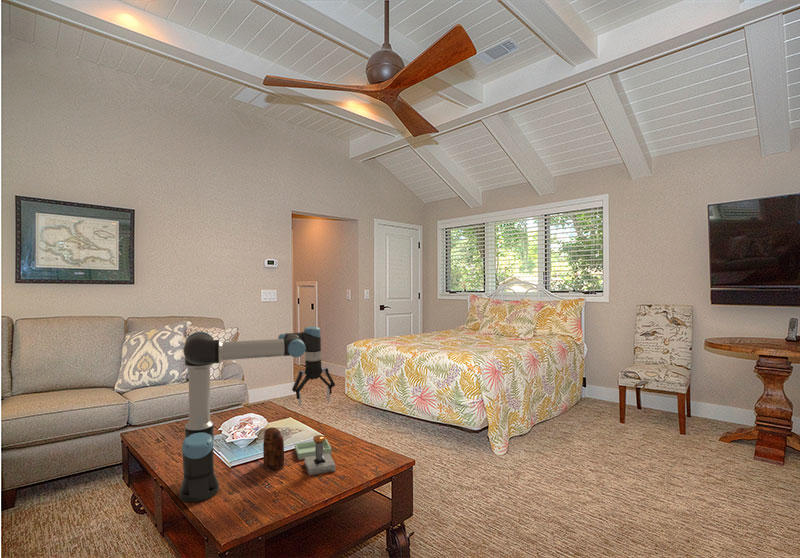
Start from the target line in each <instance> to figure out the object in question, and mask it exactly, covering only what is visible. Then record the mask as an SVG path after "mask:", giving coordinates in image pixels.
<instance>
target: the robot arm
mask: <svg viewBox="0 0 800 558" xmlns="http://www.w3.org/2000/svg"><path fill="white" fill-rule="evenodd" d="M277 337H278V338H273V339H255V340H253V339H252V340H236V341H221V340H220V339H214V338H213V337H212V335H210V333H208V332H205V331H195V332H193V333H191V334H190V335H189V336H188V337H187V338H186V340H185V342H184V347H183V355H184V366H186V367H187V368H188V422H187V423H186V424H185V425H184V439H183V441H182V445H181V451H182V467H183V468H182V470H183V473H182V474H183V478H182V481H181V483H180V484H181V485H180V488H179V493H178V494H179V499H180V500H181V501H183V502H187V503H198V502H202V501H206V500H208V499H210V498H213V497H214V496H216V495H217V494H218V492H219V491H220V483H219V481H218V477H217V475H216V474H215V473H216V472H215V461H214V445H215V443H214V439H215V433H214V421H213V420H211V366H212V365H213V364H220V363H221V362H222V361H233V360H248V359H259V358H274V357H276V358H277V357H292V358H301V357H302V356H303V355H304V358H305V361H304V363H305V364H304V366H305V370H301V369H300V370H298V373H297V374H298V375H297V378H296V379H295V381H294V383H293V386H292V389H291V390H292V391H293V392H294V393H295V397H296V399H297V400H298V406H299V407H302V392H301V390H303V387H304V386H305V385H306V384H307V382H309V381H310V380H318V379H320V380H321V381H322V382H323V383H324V384H325V385H326V387H325V388H326V401H327V402H328V403H330V402H331V400H330V399H331V397H330V395H332V393H333V392H332V391H333V390H332V388H334V387H335V386H336V383H335V382H334V379H333V378H332V376H331V374H330V373H329V368H328V367H323V368H322V342H321V341H322V337H321V328H320V327H318V326H306V327H305V328H304V331H302V332H301V331H300V332H290V333H288V332H285V333H280V334H278V336H277ZM322 373H324V374H325V376H326V377H327V379H328V380H329V382H330V383H329V382H328V381H327V380H326V379H325V378H324V377H323V375H322ZM304 375H305V376H304ZM303 376H304V378H303V379H302V377H303Z"/></svg>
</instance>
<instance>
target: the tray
mask: <svg viewBox="0 0 800 558" xmlns="http://www.w3.org/2000/svg"><path fill="white" fill-rule="evenodd" d="M294 450H295V454H296V456H297V459H298V460H299V461H300V460H304V458H305V457H311V456H316V454H315V442H314V441H313V440H310V441H304V442H298V443H294ZM329 453H330V455H331V456H332V453H333V452H332V447H331V444H330V443H329V441H328V439H327V438H325V440H324V441H323V454H329Z"/></svg>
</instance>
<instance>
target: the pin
mask: <svg viewBox="0 0 800 558" xmlns="http://www.w3.org/2000/svg"><path fill="white" fill-rule="evenodd" d="M325 439H326V438H325V435H322V434H317V435H314V436H313V440H312V441H314V442H315V454H316V464H319V463H324V459H323V441H324V440H325Z"/></svg>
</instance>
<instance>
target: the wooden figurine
mask: <svg viewBox="0 0 800 558" xmlns="http://www.w3.org/2000/svg"><path fill="white" fill-rule="evenodd" d="M263 433H264V434H263V435H264V436H263V444H262V446H263V449H262V450H263V461H262V462H263V467H264V468H265V469H268V470H277V471H279V470H282V469H283V468H284V466H285V449H284V446H285V443H284V437H283V435H282V434H281V431H280V430H279V429H278V428H276V427H274V426H272V427H268V428H266V429H265V430H264V432H263Z"/></svg>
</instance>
